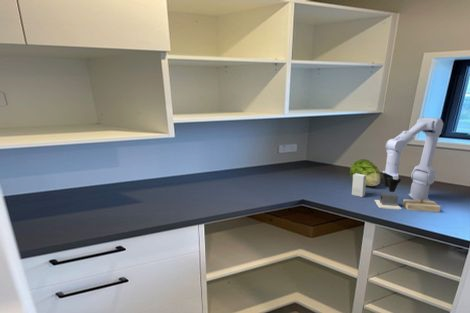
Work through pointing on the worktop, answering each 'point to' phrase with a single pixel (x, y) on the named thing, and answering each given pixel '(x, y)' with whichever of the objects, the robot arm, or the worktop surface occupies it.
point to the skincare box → (359, 185)
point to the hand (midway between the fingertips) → (389, 189)
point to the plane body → (421, 205)
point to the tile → (387, 205)
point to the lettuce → (366, 171)
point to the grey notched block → (388, 199)
